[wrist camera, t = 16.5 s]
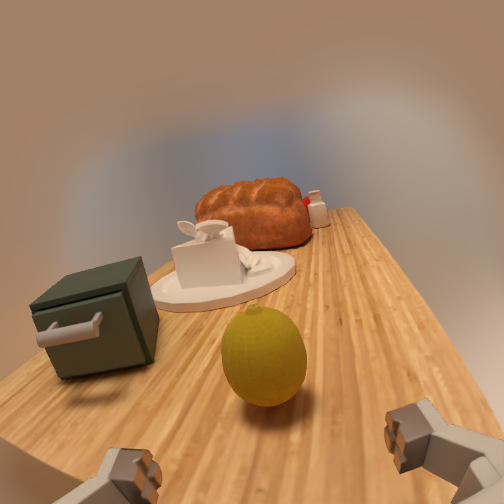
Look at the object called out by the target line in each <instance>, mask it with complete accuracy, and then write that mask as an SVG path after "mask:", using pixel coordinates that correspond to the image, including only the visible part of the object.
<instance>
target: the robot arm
mask: <svg viewBox="0 0 504 504" xmlns="http://www.w3.org/2000/svg"><path fill="white" fill-rule="evenodd" d="M385 421H386V423H387V426H386V427H385V429H384V438H385V443H386V446H387V449H388V451H389V452H390V453H392V454H394V460H393V462H394V464H395V466H396V468H397V470H398V472H399V474H402V473H405V472H407V471H410V470H413V469H416V468H418V467H421V466H422V467H423V468H425V469H426V470H428V471H430V472H432V473H433V474H435V475H437V476H439V477H441V478H442V479H444V480H446V481H448V482H450V483H452V484H454V485H455V486H457V487H459V488H458V490H457V492H456V494H455V495H454V497H453V499H452V501H451V503H452V504H504V440H501V439H497V438H494V437H491V436H487V435H484V434H481V433H478V432H475V431H472V430H468V429H465V428H462V427H459V426H456V425H454V424H451V425H448V424H447V423H446V421H445V420H444V419H443V417H442V416H441V415H440V413H439V412H438V411H437V409H436V408H435V407H434V405H433V404H432V403H431V401H430V400H429V399H428V398H425V399H422V400H420V401H417V402H414V403H411V404H409V405H406V406H403V407H401V408H398V409H395V410H392V411H389V412H387V413H386V417H385ZM152 457H153V455H152V454H151V453H150V451H149V450H144V449H126V448H110V449H108V450H107V453H106V455H105V457H104V459H103V461H102V464H101V466H100V468H99V470H98V472H97V475H96V477H95V478H94V477H92V478H90V479H89V480H87V481H86V482H84V483H83V484H81V485H80V486H78V487H77V488H76V489H74V490H73V491H71V492H69V493H68V494H66V495H65V496H63V497H62V498H61V499H59V500H57V501H56V502H54V503H53V504H157V500H158V496H159V495H158V493H157V491H156V490H157V489H158V488H159V487H160V486H161V484H162V472H161V469H160V467H159V465H158V463H156V462H154V461H153V460H152Z"/></svg>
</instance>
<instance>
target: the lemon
mask: <svg viewBox="0 0 504 504" xmlns="http://www.w3.org/2000/svg"><path fill="white" fill-rule="evenodd" d="M221 353H222V363H223V369H224V373H225V376H226V378H227V380H228V382H229V384H230V385H231V387H232V389H233V390H234V391H235V393H236V394H237V395H238V396H239V397H241V398H242V399H244V400H245V401H246V402H248V403H251V404H254V405H257V406H263V407H269V406H275V405H279V404H282V403H284V402H286V401H287V400H289V399H291V398H292V397H293V396H294V395H295V394H296V393H297V392H298V391H299V389H300V387H301V385H302V384H303V382H304V379H305V375H306V369H307V354H306V349H305V346H304V343H303V340H302V337H301V335H300V333H299V330H298V329H297V327H296V325H295V324H294V323H293V321H292V320H291V319H290V318H289V317H288V316H286V315H285V314H284V313H282V312H280V311H278V310H275V309H272V308H268V307H260V306H259V305H257V304H253V305H250V306H248V307H247V309H246V310H245V311H243V312H241V313H240V314H238V315H237V316H236V317H235V318H234V319H233V320H232V321H231V322H230V323H229V325H228V326H227V328H226V330H225V333H224V335H223V339H222V346H221Z"/></svg>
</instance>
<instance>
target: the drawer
mask: <svg viewBox="0 0 504 504" xmlns="http://www.w3.org/2000/svg"><path fill="white" fill-rule="evenodd" d="M32 318H33V321H34V323H35V326H36V328H37V331H38V333H37V335H36V340H37V343H38V345H39V347H41V348H44V347H45V350H46V352H47V354H48V356H49V358H50V361H51V363H52V365H53V367H54V369H55V371H56V373H57V375H58V377H59V378H61V377H68V376H75V375H81V374H87V373H93V372H99V371H105V370H110V369H116V368H121V367H126V366H131V365H136V364H141V363H144V362H145V355H144V352H143V350H142V347H141V344H140V342H139V339H138V336H137V333H136V331H135V328H134V325H133V322H132V319H131V316H130V313H129V310H128V307H127V304H126V301H125V298H124V295H123V292H122V291H121V290H119V291H115V292H110V293H106V294H102V295H98V296H94V297H90V298H85V299H81V300H77V301H73V302H69V303H65V304H60V305H56V306H52V307H48V308H46V310H43V311H39V312H36V313H35V314H34V315H33V316H32Z"/></svg>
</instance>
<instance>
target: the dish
mask: <svg viewBox="0 0 504 504" xmlns="http://www.w3.org/2000/svg"><path fill="white" fill-rule="evenodd" d="M177 225H178V227H179V229H180V230H181V231H182V232H183V233H184V234H186V235H189V236H194V237H195V238H196V239H194V240H192V241H189V242H186V243H184V244H181V245H178V246H176V247H173V248H171V252H172V256H173V260H174V264H175V268H176V271H174V272H172V273H170V274H168V275H166V276H164V277H162V278H161V279H159V280H158V281H157V282H156V283H155V284H154V285H152V286H151V288H150V289H151V293H152V296H153V299H154V302H155V306H156V307H157V308H158V309H163V310H167V311H172V312H203V311H208V310H213V309H219V308H224V307H229V306H235V305H238V304H241V303H244V302H247V301H249V300H252V299H255V298H258V297H261V296H264V295H266V294H268V293H270V292H272V291H273V290H275V289H277V288H279V287H281V286H283V285H284V284H286V283H287V282H288V281H289V280H290V279H291V278H292V277H293V276H294V274H295V261H294V258H293V257H292V256H290V255H288V254H286V253H281V252H274V251H254V252H251V251H250V250H248V249H247V248H245V247H243V246H240V245H238V244H236V241H235V237H234V232H233V227H232V226H230V227H229V226H228V222H225V221H223V220H207V221H203V222H200V223H198V224H197V225H196V227H195V226H194V225H193V224H192V223H190V222H187V221H179V222H177ZM197 230H198V231H197Z"/></svg>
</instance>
